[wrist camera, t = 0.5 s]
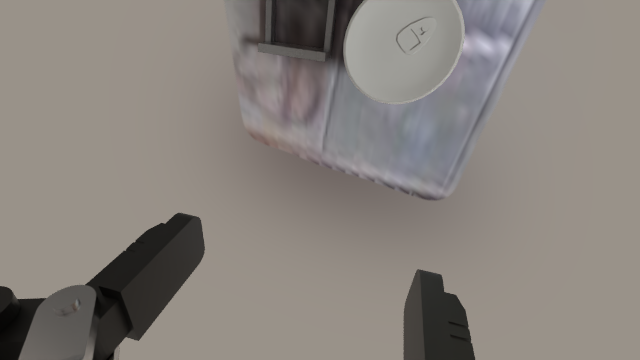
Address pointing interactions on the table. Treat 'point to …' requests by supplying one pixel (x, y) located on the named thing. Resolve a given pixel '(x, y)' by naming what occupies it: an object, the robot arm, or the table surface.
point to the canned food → (402, 47)
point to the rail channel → (294, 49)
